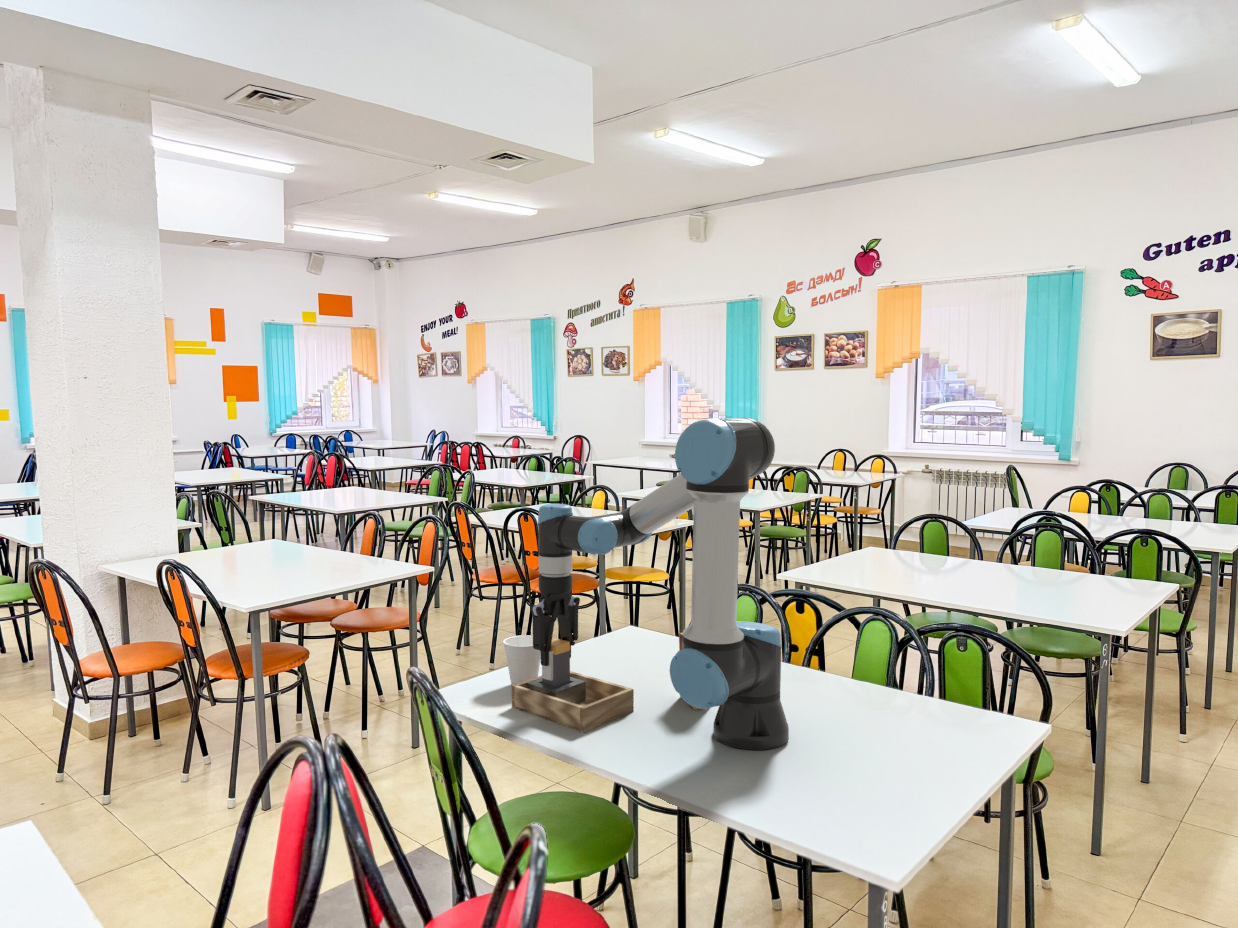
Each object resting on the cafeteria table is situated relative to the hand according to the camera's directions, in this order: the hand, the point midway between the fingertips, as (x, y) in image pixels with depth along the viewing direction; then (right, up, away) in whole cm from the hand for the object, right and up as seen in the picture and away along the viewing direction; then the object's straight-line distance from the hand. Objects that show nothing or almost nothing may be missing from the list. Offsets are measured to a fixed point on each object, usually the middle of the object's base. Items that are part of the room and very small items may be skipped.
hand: (556, 675), depth 191 cm
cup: (-9, -6, +13) cm, 17 cm away
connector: (0, -4, 0) cm, 4 cm away
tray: (+4, -7, -3) cm, 8 cm away
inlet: (0, -7, 0) cm, 6 cm away
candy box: (+31, -7, +1) cm, 32 cm away
